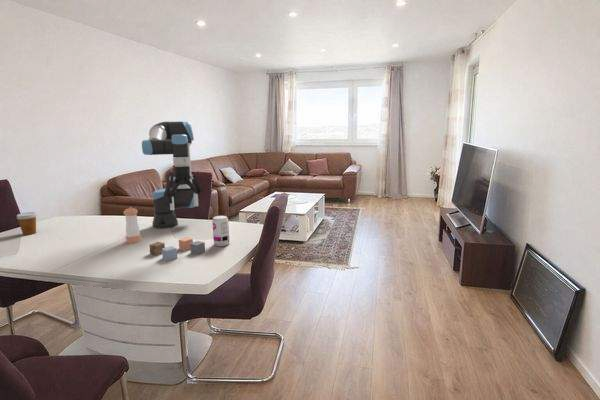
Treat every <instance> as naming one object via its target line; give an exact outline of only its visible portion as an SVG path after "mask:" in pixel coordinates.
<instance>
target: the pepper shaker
mask: <svg viewBox="0 0 600 400" xmlns="http://www.w3.org/2000/svg"><path fill="white" fill-rule="evenodd" d="M138 213H139V211H138V209H137V208H134V207H131V206H130V207H128V208H126V209H125V210H124V211H123V215H124V216H125V222H126V223H125V238H126V239H125V240H126V243H127V244H137V243H140V242H141V241H142V236H141V233H140V226H139V223H138V217H137V215H138Z"/></svg>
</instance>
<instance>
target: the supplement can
mask: <svg viewBox="0 0 600 400" xmlns="http://www.w3.org/2000/svg"><path fill="white" fill-rule="evenodd" d="M211 221H212V236H213V245H214V246H215V247H218V246H223V247H227V246H228V245H229V244H230V227H229V218H228V217H227V215H216V216H213V218H212V220H211ZM226 245H227V246H226Z"/></svg>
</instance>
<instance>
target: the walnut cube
mask: <svg viewBox="0 0 600 400" xmlns="http://www.w3.org/2000/svg"><path fill="white" fill-rule="evenodd" d="M148 246H149V255H152V256H155V257H156V256H160V255H162V248H166V247H165V242H160V241H156V242H152V243H150V244H149V245H148Z"/></svg>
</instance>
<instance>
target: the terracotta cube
mask: <svg viewBox="0 0 600 400" xmlns="http://www.w3.org/2000/svg"><path fill="white" fill-rule="evenodd" d="M193 242H194V240H193V238H191V237H183V238H179V239H178V249H180V250H182V251H185V252H186V251H188V250H190V243H193Z"/></svg>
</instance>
